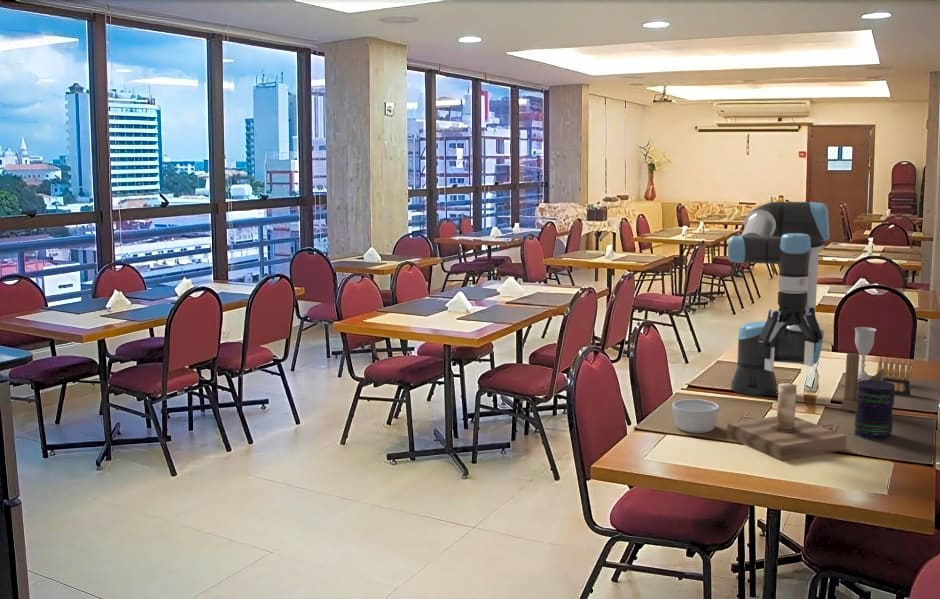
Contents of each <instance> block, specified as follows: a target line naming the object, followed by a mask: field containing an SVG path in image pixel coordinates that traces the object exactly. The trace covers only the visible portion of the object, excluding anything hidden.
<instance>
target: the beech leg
mask: <svg viewBox="0 0 940 599" xmlns="http://www.w3.org/2000/svg"><path fill="white" fill-rule="evenodd" d="M777 394H778V395H777V411H776V412H777V413H776V414H777V415H776V416H777V425H776V428H777V430H779V431H783V432H792V431H794V429H795V427H794V423H795V417H796V405H797V404H796V402H797V385H796V384H793V383H788V382H787V383H786V382H784V383H783V382H782V383H779V384H778V392H777Z"/></svg>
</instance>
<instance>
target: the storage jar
mask: <svg viewBox="0 0 940 599" xmlns="http://www.w3.org/2000/svg"><path fill="white" fill-rule="evenodd" d="M894 389H895V385H894V384H892V383H889V382H884V381H877V380H858V384H857V398H856V400H857V413H855V420H854V429H855V430H854V432H855V434H856V435H857V436H856V435H855V434H854V435H855V436H856V437H858V436H860V437H863V438H862V439H864V438H868V439H873V440H872V441H877V440H883V441H888V440H887V439H889V440H890V438H891V439H892V431H893V422H894V421H893V420H894V419H893V409H894V407H893V406H894V405H895V397H896V394H895V391H894ZM860 437H859V438H860ZM868 439H867V440H868Z"/></svg>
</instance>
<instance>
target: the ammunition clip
mask: <svg viewBox="0 0 940 599" xmlns="http://www.w3.org/2000/svg"><path fill="white" fill-rule="evenodd" d="M882 359H883V358H882V356H880V357H879V358H878V363H877V368H876V369H877V370H876V374H877V373H878V372H880V371H881V370H882V369H884V374H883V381H884V382H889V383H892V384H894V385H895V389H894V391H895V395H897V394H902V395H901V396H905V395H910V396H911V391H912V390H911V389H912V388H911V386H912V384H911V382H912V361H911V359H908V362H907V364H906V362H905V359H902V361H901V364H900V360H899V358H896V359H895V360H896V361H895V364H894V358H893V357H891V358H890V361H889V362H888V357H885V358H884V361H883V360H882ZM900 365H901V366H900Z"/></svg>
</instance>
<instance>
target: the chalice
mask: <svg viewBox="0 0 940 599" xmlns="http://www.w3.org/2000/svg"><path fill="white" fill-rule="evenodd" d="M853 329H854V331H855V334H854V336H855V338H854V344H855V347H856V349H857V352H858V354H859V355H861V359H860V361H861V362H860V364H859V366H860V367H861V368H860V370H858V379H861V380H860V381H862V380H869V379H870V377H869V374H868V373H867V372H866V371H865V367H866V366H867V365H866V364H865V363H866V355H869V353H870V352H871V350H872V348H873V346H874V344H875V335H876V334H875V333H876V332H877V329H876V328H874V327H869V326H868V327H866V326H859V327H854V328H853Z"/></svg>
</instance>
